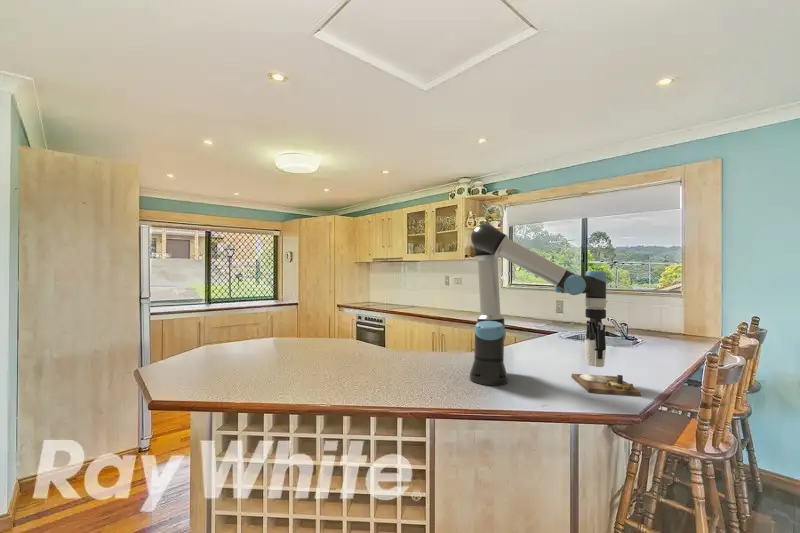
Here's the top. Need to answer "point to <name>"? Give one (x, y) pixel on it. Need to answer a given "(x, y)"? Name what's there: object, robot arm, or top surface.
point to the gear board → (605, 384)
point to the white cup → (591, 352)
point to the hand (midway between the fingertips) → (595, 364)
